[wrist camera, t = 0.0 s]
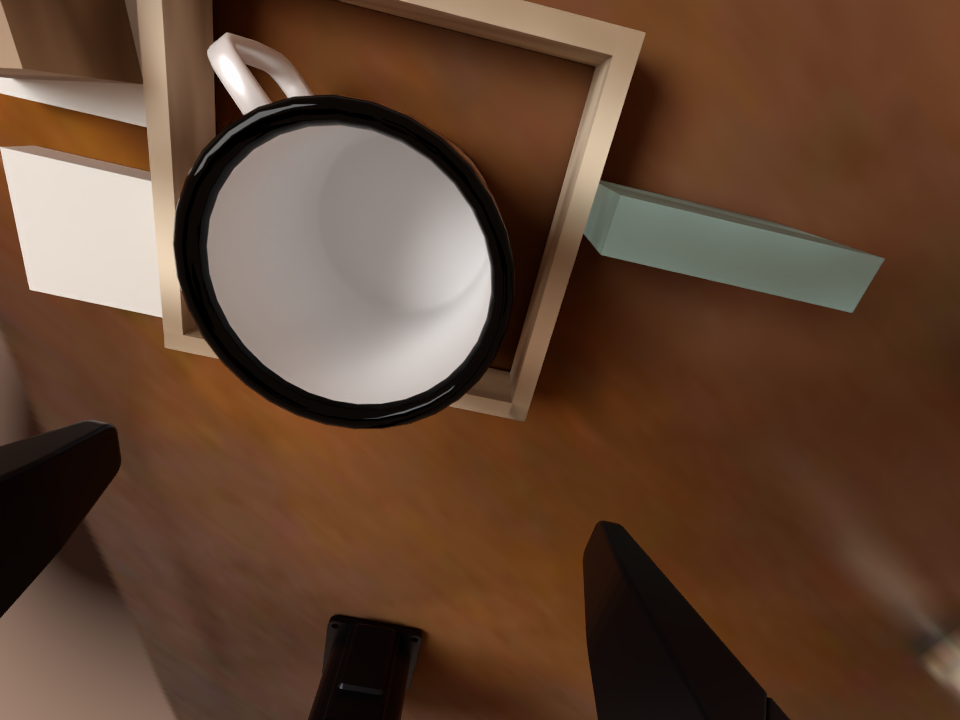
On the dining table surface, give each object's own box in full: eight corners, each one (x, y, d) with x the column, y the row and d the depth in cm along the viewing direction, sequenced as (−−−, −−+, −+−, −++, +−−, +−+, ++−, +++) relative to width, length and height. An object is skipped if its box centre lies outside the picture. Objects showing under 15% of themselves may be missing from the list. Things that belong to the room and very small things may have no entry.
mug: (546, 266, 22) (575, 348, 14) (379, 358, 24) (317, 474, 16) (397, -14, 17) (308, -139, 9) (211, 131, 20) (9, 132, 12)
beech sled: (678, 422, 25) (732, 510, 19) (203, 322, 23) (106, 385, 17) (832, 102, 18) (987, 88, 12) (187, -66, 17) (24, -170, 11)
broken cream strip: (186, 306, 23) (165, 318, 22) (59, 279, 23) (29, 289, 21) (162, -89, 17) (131, -109, 15) (-15, -135, 16) (-65, -161, 15)
